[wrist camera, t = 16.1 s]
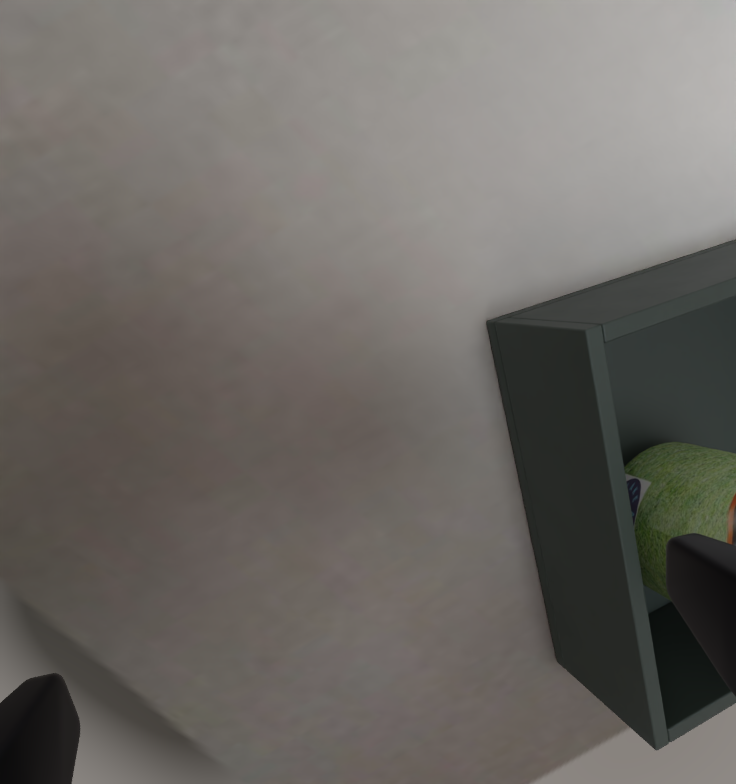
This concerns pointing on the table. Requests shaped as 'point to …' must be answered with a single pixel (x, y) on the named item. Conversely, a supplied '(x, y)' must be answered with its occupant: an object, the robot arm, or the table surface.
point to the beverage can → (679, 501)
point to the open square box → (619, 469)
